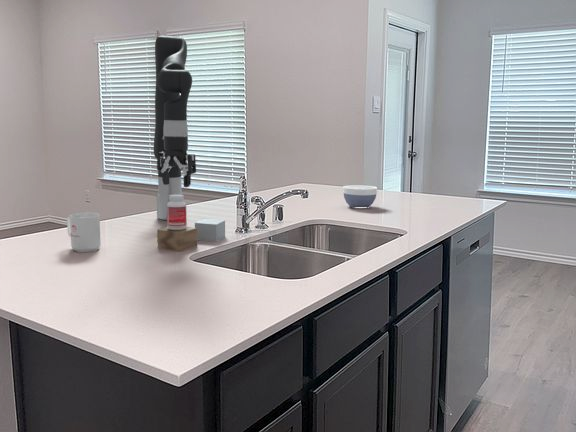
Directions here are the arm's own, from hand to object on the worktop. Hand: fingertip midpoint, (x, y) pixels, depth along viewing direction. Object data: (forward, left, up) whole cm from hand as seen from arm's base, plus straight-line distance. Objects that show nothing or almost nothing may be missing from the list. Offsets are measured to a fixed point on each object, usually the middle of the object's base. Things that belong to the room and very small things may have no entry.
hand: (176, 185), depth 188 cm
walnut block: (0, 0, -20) cm, 20 cm away
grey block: (+1, +16, -20) cm, 26 cm away
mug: (-23, -19, -21) cm, 36 cm away
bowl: (+17, +109, -21) cm, 112 cm away
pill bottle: (0, 0, -14) cm, 14 cm away
